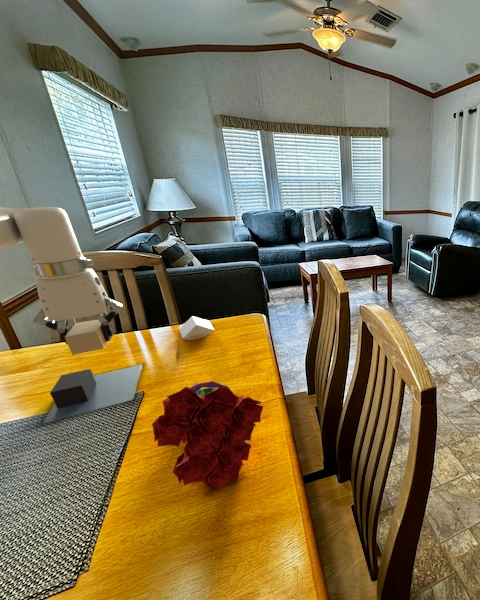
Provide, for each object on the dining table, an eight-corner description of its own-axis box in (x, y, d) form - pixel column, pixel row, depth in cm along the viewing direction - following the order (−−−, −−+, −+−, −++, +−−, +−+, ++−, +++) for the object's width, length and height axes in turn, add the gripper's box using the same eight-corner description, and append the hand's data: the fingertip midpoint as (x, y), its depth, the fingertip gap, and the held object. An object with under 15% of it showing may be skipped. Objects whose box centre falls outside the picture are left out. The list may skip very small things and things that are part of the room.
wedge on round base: (216, 338, 109) (208, 325, 118) (212, 320, 106) (204, 308, 116) (185, 347, 104) (179, 332, 113) (180, 328, 101) (174, 315, 111)
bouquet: (234, 411, 85) (280, 460, 63) (158, 446, 75) (181, 519, 52) (213, 341, 81) (254, 367, 59) (130, 367, 70) (141, 410, 48)
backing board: (43, 427, 72) (41, 424, 71) (69, 384, 86) (68, 381, 86) (134, 403, 79) (132, 399, 79) (143, 367, 94) (142, 364, 93)
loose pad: (72, 355, 72) (64, 337, 70) (82, 339, 78) (75, 322, 77) (104, 348, 74) (97, 331, 73) (111, 334, 81) (105, 318, 79)
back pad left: (57, 408, 76) (49, 392, 74) (68, 390, 82) (61, 375, 81) (88, 400, 78) (81, 385, 77) (96, 383, 85) (90, 368, 83)
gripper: (116, 258, 76) (140, 327, 83) (13, 268, 69) (48, 344, 75) (109, 266, 70) (135, 340, 77) (-5, 278, 63) (35, 359, 69)
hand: (92, 341), depth 76 cm, fingers closed on loose pad, 5 cm apart
